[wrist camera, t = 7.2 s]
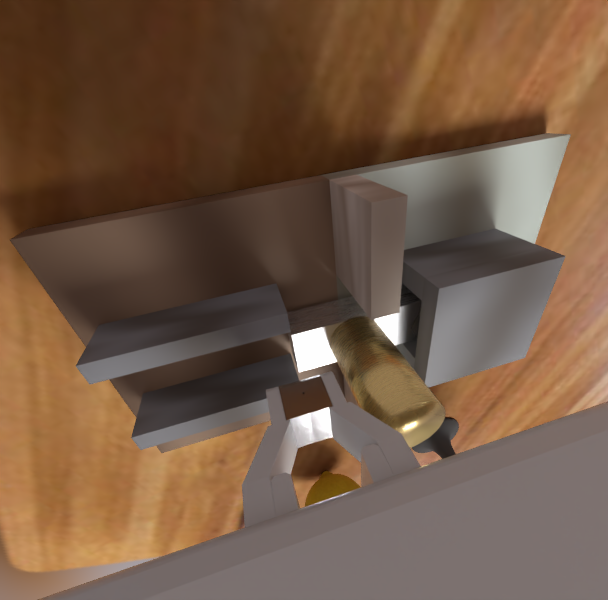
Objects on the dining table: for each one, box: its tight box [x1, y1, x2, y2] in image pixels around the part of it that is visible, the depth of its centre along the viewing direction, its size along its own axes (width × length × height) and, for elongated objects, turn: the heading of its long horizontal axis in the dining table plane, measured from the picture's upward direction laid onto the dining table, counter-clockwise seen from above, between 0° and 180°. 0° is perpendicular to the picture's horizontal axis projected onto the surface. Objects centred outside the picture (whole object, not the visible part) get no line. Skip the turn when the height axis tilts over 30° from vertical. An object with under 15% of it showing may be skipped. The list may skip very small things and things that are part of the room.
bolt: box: [287, 284, 445, 448], centre depth 13 cm, size 12×3×7 cm, turn 98°
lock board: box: [10, 133, 571, 453], centre depth 15 cm, size 24×14×5 cm, turn 98°
